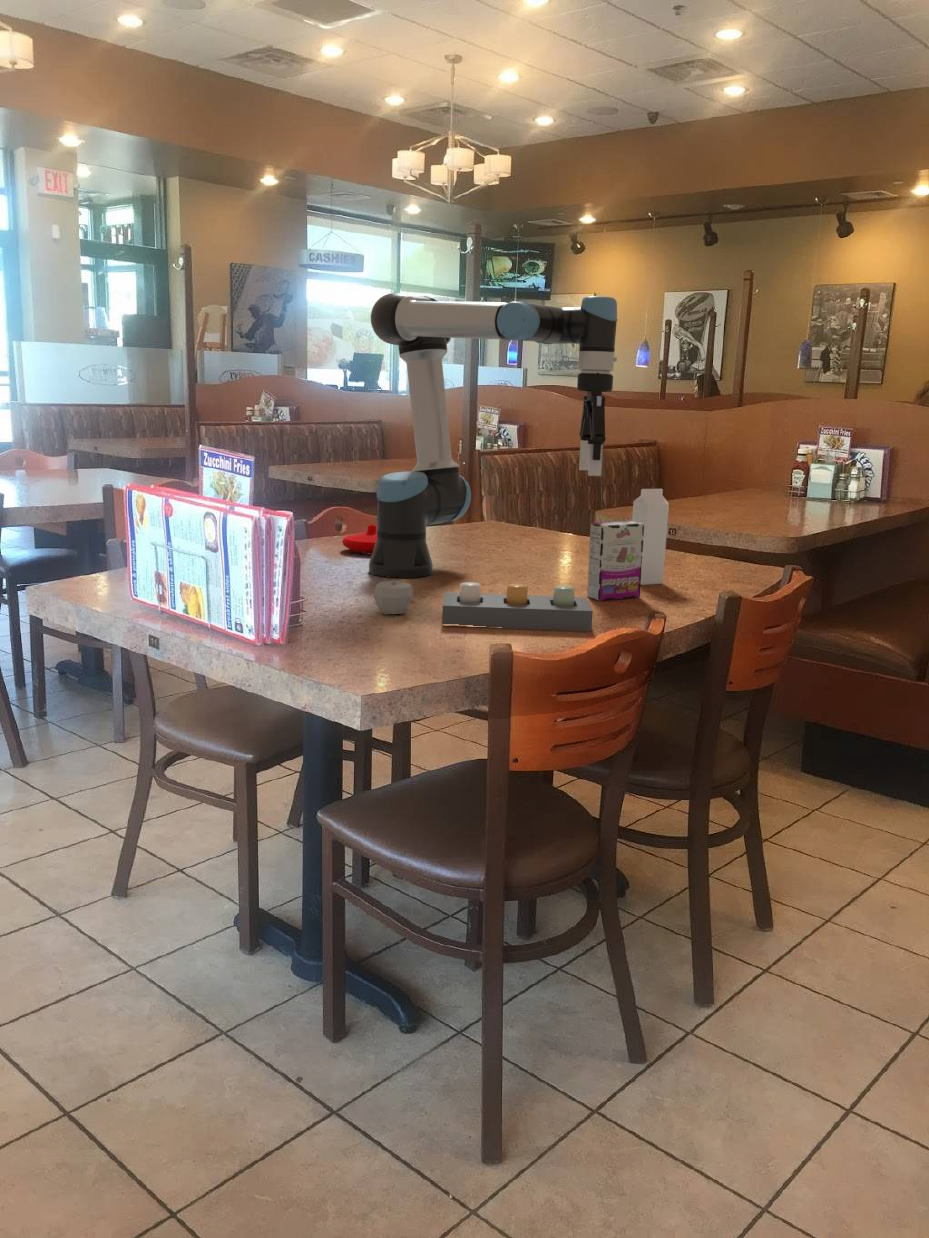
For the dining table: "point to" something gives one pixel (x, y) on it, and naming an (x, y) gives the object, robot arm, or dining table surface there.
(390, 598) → the apple
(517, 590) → the button amber
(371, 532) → the red disc with nozzle
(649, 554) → the milk
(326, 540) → the dining table surface
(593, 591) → the candy bar box
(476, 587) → the button ivory
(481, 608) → the block
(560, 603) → the button sage
